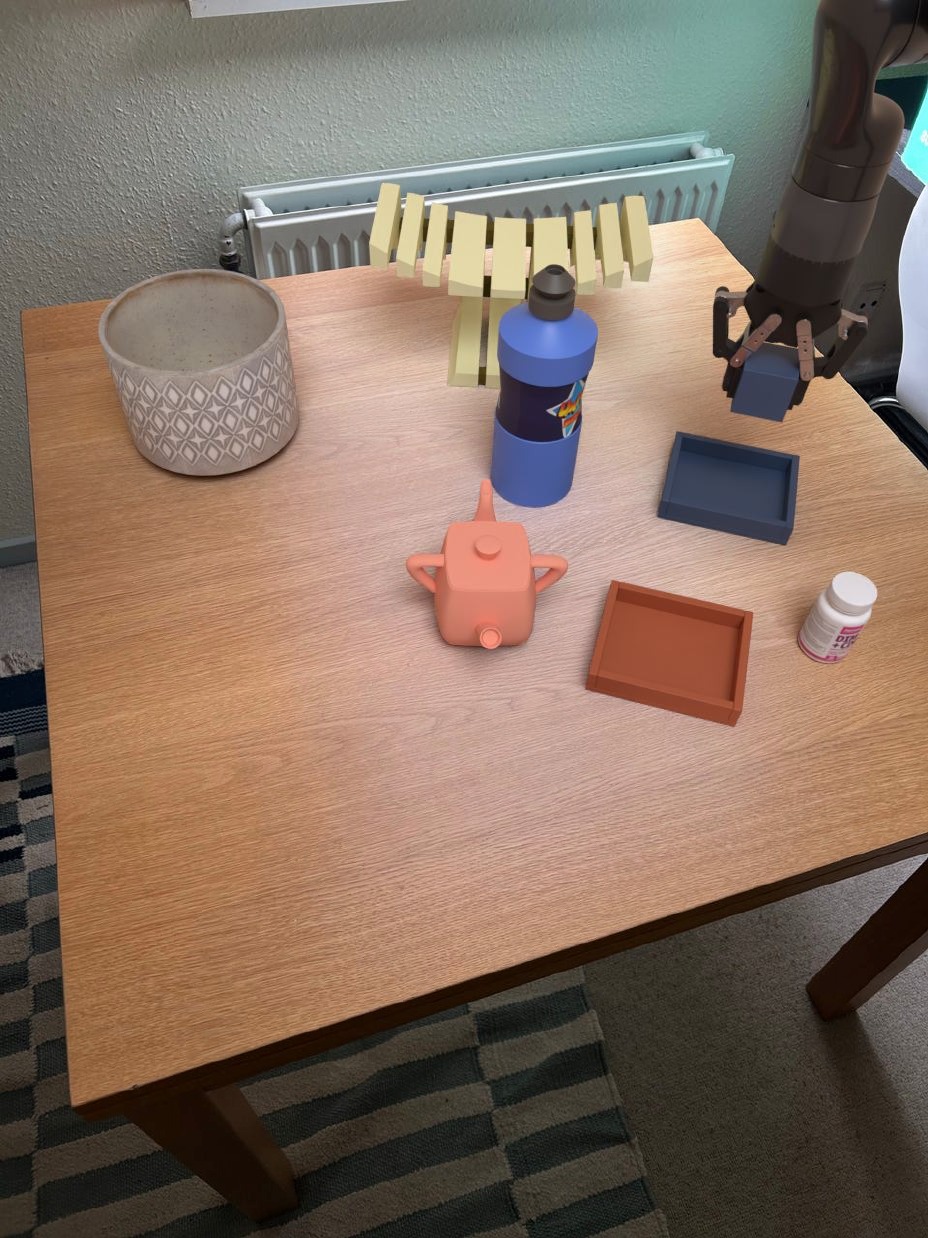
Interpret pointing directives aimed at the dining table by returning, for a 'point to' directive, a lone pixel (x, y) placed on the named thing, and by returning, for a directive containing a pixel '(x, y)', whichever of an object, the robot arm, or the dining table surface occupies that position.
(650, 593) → the terracotta tray
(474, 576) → the teapot
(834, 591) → the pill bottle
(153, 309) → the planter
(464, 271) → the slatted curved stool
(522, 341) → the water bottle
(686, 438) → the blue tray
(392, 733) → the dining table surface
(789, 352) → the blue block
